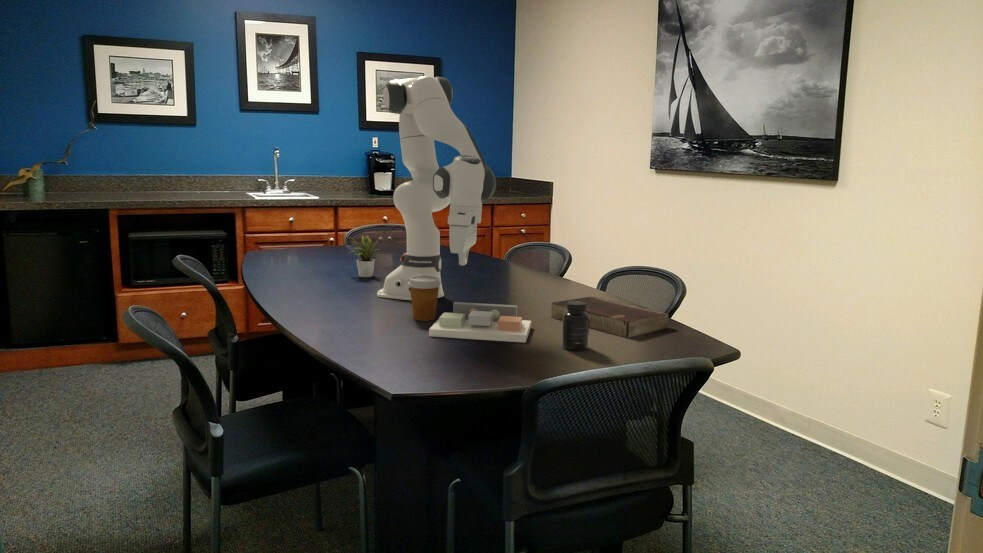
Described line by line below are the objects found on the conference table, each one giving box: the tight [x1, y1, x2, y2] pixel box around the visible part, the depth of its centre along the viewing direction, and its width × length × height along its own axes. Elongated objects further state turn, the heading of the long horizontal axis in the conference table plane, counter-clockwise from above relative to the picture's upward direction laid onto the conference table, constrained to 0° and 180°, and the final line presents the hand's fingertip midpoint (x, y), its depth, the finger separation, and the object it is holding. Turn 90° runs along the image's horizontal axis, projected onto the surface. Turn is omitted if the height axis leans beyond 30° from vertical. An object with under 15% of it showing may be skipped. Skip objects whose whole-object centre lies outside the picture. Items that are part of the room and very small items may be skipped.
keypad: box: [428, 301, 532, 343], centre depth 196 cm, size 26×16×6 cm, turn 82°
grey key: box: [468, 311, 494, 326], centre depth 194 cm, size 6×6×2 cm
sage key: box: [438, 311, 465, 328], centre depth 196 cm, size 6×6×2 cm
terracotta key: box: [497, 316, 523, 331], centre depth 194 cm, size 6×6×2 cm
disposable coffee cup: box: [408, 276, 442, 322], centre depth 209 cm, size 10×10×12 cm
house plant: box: [346, 235, 381, 278], centre depth 273 cm, size 14×14×16 cm
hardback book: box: [550, 295, 670, 339], centre depth 211 cm, size 29×19×5 cm, turn 42°
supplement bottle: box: [561, 301, 590, 352], centre depth 182 cm, size 7×7×12 cm
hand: (462, 264), depth 199 cm, fingers closed
